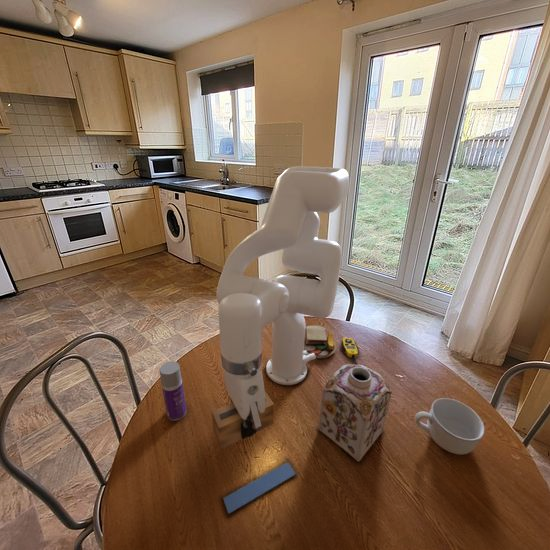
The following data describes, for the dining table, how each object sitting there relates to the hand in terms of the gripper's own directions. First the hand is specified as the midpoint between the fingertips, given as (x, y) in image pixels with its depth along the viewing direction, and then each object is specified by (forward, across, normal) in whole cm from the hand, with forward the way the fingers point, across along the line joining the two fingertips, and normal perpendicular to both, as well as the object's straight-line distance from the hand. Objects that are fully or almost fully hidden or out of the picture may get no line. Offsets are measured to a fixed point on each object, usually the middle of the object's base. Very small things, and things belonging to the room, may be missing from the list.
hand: (243, 424), depth 62 cm
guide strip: (+9, -8, 0) cm, 12 cm away
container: (+9, +18, +11) cm, 23 cm away
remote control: (+9, +14, -45) cm, 48 cm away
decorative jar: (+9, -7, -25) cm, 28 cm away
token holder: (+1, 0, 0) cm, 1 cm away
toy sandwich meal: (+9, +23, -37) cm, 45 cm away
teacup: (+9, -19, -43) cm, 48 cm away
